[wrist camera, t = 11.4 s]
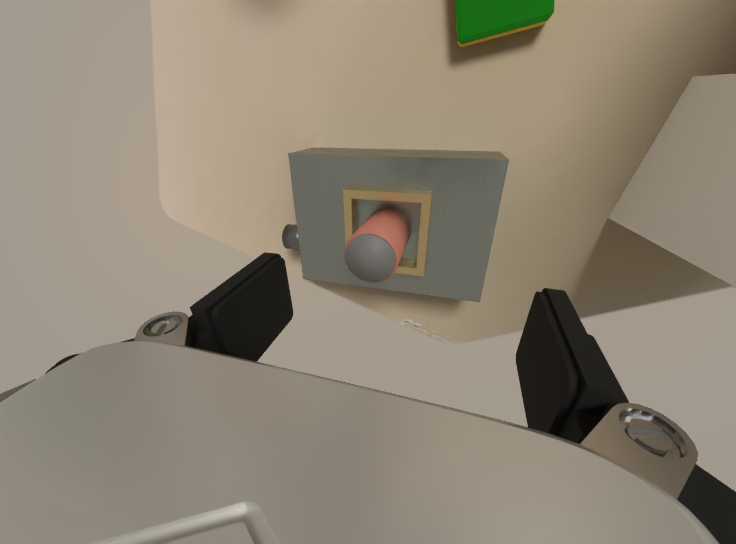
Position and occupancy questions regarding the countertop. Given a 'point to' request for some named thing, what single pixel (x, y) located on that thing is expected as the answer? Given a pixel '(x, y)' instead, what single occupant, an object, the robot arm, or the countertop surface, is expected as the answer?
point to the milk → (690, 180)
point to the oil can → (377, 245)
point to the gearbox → (410, 197)
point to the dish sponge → (498, 18)
